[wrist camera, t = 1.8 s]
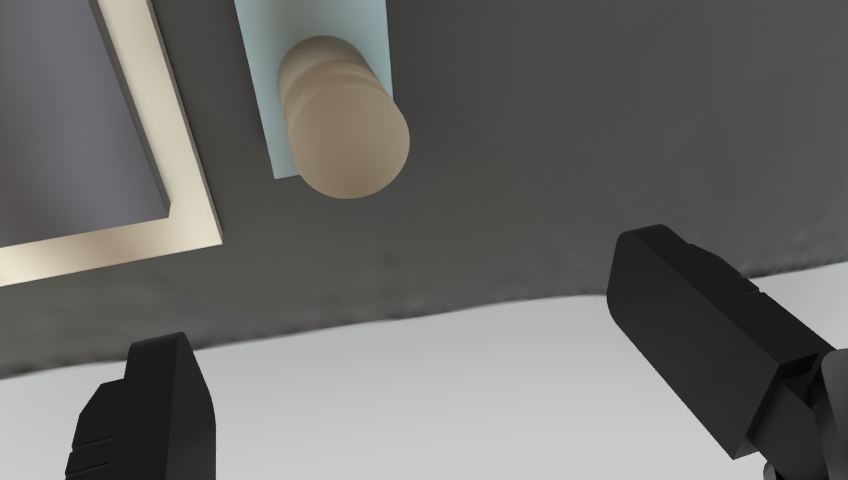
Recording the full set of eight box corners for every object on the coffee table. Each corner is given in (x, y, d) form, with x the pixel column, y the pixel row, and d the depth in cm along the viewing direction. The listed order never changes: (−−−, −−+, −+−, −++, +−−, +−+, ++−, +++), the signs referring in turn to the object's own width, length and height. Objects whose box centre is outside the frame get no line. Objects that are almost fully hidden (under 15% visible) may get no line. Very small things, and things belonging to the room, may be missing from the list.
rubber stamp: (363, -43, 21) (431, 8, 14) (379, 125, 25) (438, 230, 18) (230, -30, 20) (233, 31, 13) (269, 143, 24) (287, 261, 17)
